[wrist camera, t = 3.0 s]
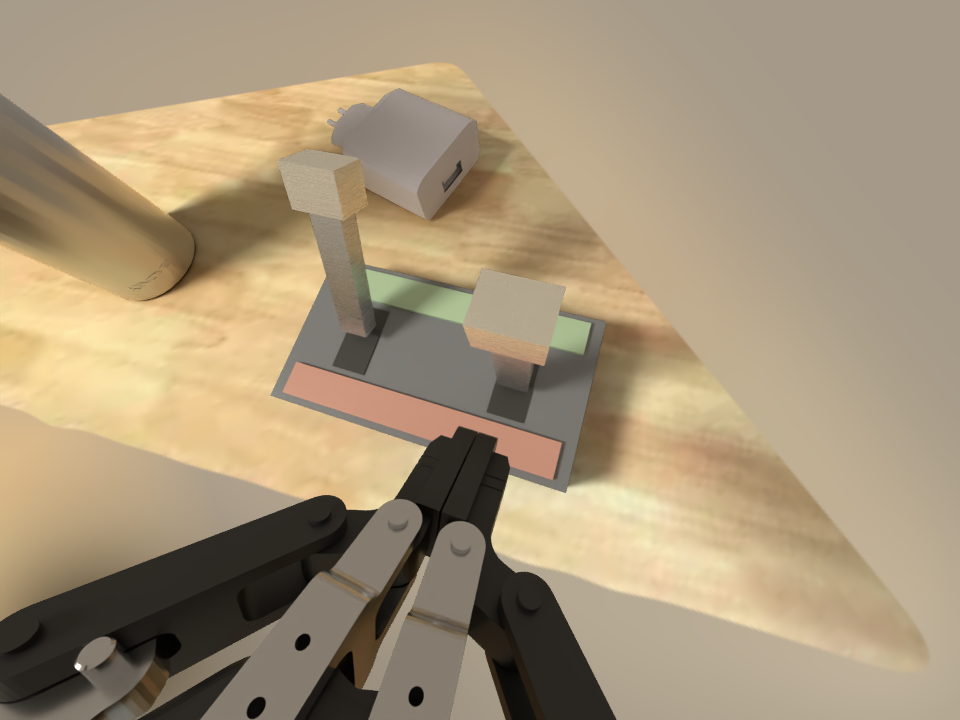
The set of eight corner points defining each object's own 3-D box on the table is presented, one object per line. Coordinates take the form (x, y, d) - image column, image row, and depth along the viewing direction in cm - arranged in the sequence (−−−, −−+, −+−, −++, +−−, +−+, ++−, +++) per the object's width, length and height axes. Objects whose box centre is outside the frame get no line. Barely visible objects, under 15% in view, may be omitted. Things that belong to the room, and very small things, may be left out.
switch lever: (533, 402, 23) (549, 347, 12) (487, 388, 23) (462, 324, 13) (543, 368, 23) (566, 287, 13) (497, 355, 24) (482, 267, 13)
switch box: (558, 488, 26) (566, 493, 22) (302, 404, 30) (267, 394, 26) (594, 340, 29) (607, 320, 25) (356, 281, 33) (333, 255, 28)
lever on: (370, 344, 25) (333, 170, 17) (330, 332, 25) (276, 160, 17) (386, 324, 26) (360, 158, 18) (349, 314, 27) (308, 148, 19)
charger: (370, 108, 39) (481, 158, 36) (318, 166, 38) (428, 225, 34) (351, 62, 35) (476, 114, 31) (290, 126, 33) (415, 188, 29)
